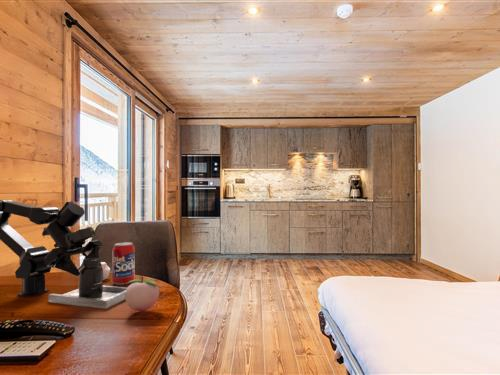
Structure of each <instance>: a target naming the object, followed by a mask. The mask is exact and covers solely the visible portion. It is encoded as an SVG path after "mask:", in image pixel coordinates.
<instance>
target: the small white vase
mask: <svg viewBox="0 0 500 375" xmlns="http://www.w3.org/2000/svg"><path fill="white" fill-rule="evenodd" d="M100 262H101V265H102V268H103V281H105V280H107V278H108V277H109V275H110V273H111V272H110V271H111V268H110V267H109V265H107V263H106V262H105V261H100Z"/></svg>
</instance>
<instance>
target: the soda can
mask: <svg viewBox="0 0 500 375" xmlns="http://www.w3.org/2000/svg"><path fill="white" fill-rule="evenodd" d="M135 250H136V248H135V246H134V244H133V242H118V243H117V242H116V243H114V245H113V248H112V251H111V252H112V254H111V255H112V256H111V257H112V261H111V262H112V263H111V265H112V267H111V268H112V272H111V274H112V275H111V276H112V278H111V279H112V280H111V281H112V283H113V284H115V286H124V284H126V285H129V284H128V282H129V281H132V280H136V279H135V276H136V273H135V270H136V269H135V267H136V265H135V263H136V262H135V261H136V260H135V254H136V253H135V252H136V251H135Z"/></svg>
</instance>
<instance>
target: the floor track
mask: <svg viewBox="0 0 500 375" xmlns="http://www.w3.org/2000/svg"><path fill="white" fill-rule="evenodd" d="M77 286H78V288H76V289H73V290H71V291H69V292H65V293H63V294H59V293H50V294H48V303H53V304H61V305H71V306H78V307H88V308H97V309H104V310H106V309H109V308H111V307H113V306H115V305H117V304H119V303H121V302H123V301H126V299H125V293H126V290H127V288H128V286H127V287H126V286H118V285H115V286H114V285H104V284H103V293H102V295H101V296H100V297H97V298H90V297H81V296H79V283H78V284H77Z"/></svg>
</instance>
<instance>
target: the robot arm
mask: <svg viewBox="0 0 500 375" xmlns="http://www.w3.org/2000/svg"><path fill="white" fill-rule="evenodd" d="M85 213H86V210H85V209H84V208H83V207H81V206H80V205H78V204H76V203H74V202H73V201H66V202H65V203H64V205H63V207H61V209H59V207H56V206H36V205H30V204H26V203H23V202H18V201H15V200H12V199H0V241H1V242H2V243H3V244H5V246H6V247H7V248H9V250H11V251H12V252H13V253H14V254H15V255H16V256H18V257H19V267H18V268H17V269H16V270H15V272H14V274H15V278H16V279H21V282H22V284H21V285H22V286H21V287H22V288H21V292H19V293H17V296H21V297H30V298H32V297H35V296H38V295H41V294H43V293H46V292H49V291H50V289H47V288H46V274H47V273H50V272H51V270H52V269H54V268H55V269H58V270H61V271H64V272H67V273H68V274H71V275H73V276H76V277H79V275H80V272H79V271H80V270H79V269H78V267H77V266H76V265H75V263H74V261H73V260H72V256H76V255H82V256H83V257H84V259H87V258H100V253H99V252H100V251H99V250H101V248H102V246H103V243H102V242H101V240H99V239H95V240H90V241H88V242H87V241H86V240H89V239H92V238H93V237H94V236H95V234H96V230H95V229H94V228H93V227H92V226H87V227H86V228H81V229H78V230H76V231H72V230H71V227H74V226H75V225H76V224H77V223H78V222H79V221H80V220H81V219H82V217H83V216H84V215H85ZM12 215H15V216H18V217H19V216H20V217H24V218H27V219H28V220H29V221H30V222H32V223H33V224H35V225H38V226H39V225H47V226H45V227H43V231H42V232H41V235H42V236H43V237H46V236H49V237H51V238H50V239H52V240H53V241H54V245H53V247H54V248H52V249H51V250H50V251H49V250H48V249H47V248H46V247H45V246H44V245H39V246H36V247H34V246H33V245H32V244H31V243H30V242H29V241H28V240H26V238H24V237H23V236H22V235H21V234H19V232H17V231H16V230H15V229H14V228H13V227H12V226H11V225H10V224H9V219H10V218H11V216H12ZM86 242H87V243H86ZM83 245H85V246H83ZM101 262H102V261H100V264H99V266H101V267H102V265H101Z"/></svg>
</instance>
